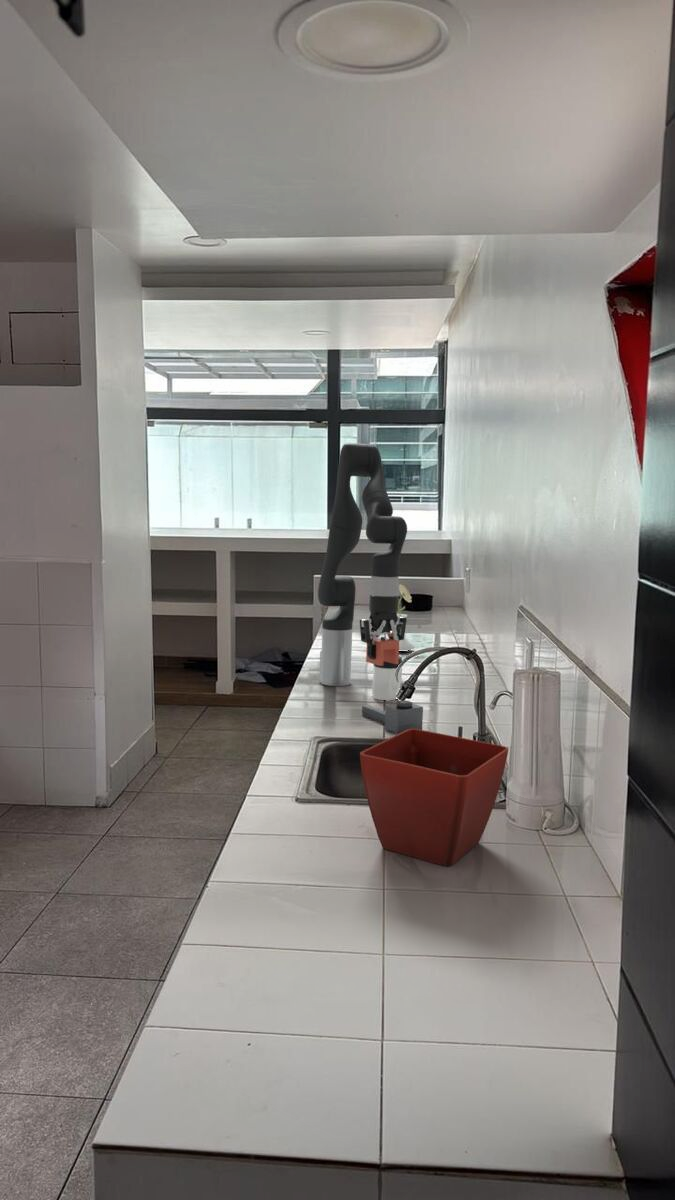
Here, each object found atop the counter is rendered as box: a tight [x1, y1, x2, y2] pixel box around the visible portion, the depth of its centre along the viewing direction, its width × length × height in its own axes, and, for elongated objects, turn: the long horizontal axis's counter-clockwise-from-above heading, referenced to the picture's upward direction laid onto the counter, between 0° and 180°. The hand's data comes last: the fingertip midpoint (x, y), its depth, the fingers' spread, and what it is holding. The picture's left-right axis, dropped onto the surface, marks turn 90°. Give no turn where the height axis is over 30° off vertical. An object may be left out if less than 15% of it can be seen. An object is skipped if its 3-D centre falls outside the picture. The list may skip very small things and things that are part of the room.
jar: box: [371, 655, 403, 702], centre depth 252 cm, size 9×8×12 cm
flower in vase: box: [397, 584, 415, 651], centre depth 327 cm, size 13×11×25 cm
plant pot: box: [359, 729, 509, 867], centre depth 146 cm, size 19×19×17 cm
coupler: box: [361, 700, 424, 735], centre depth 224 cm, size 19×8×7 cm, turn 34°
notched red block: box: [365, 636, 400, 666], centre depth 227 cm, size 6×6×7 cm
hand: (382, 657), depth 227 cm, fingers closed on notched red block, 6 cm apart
